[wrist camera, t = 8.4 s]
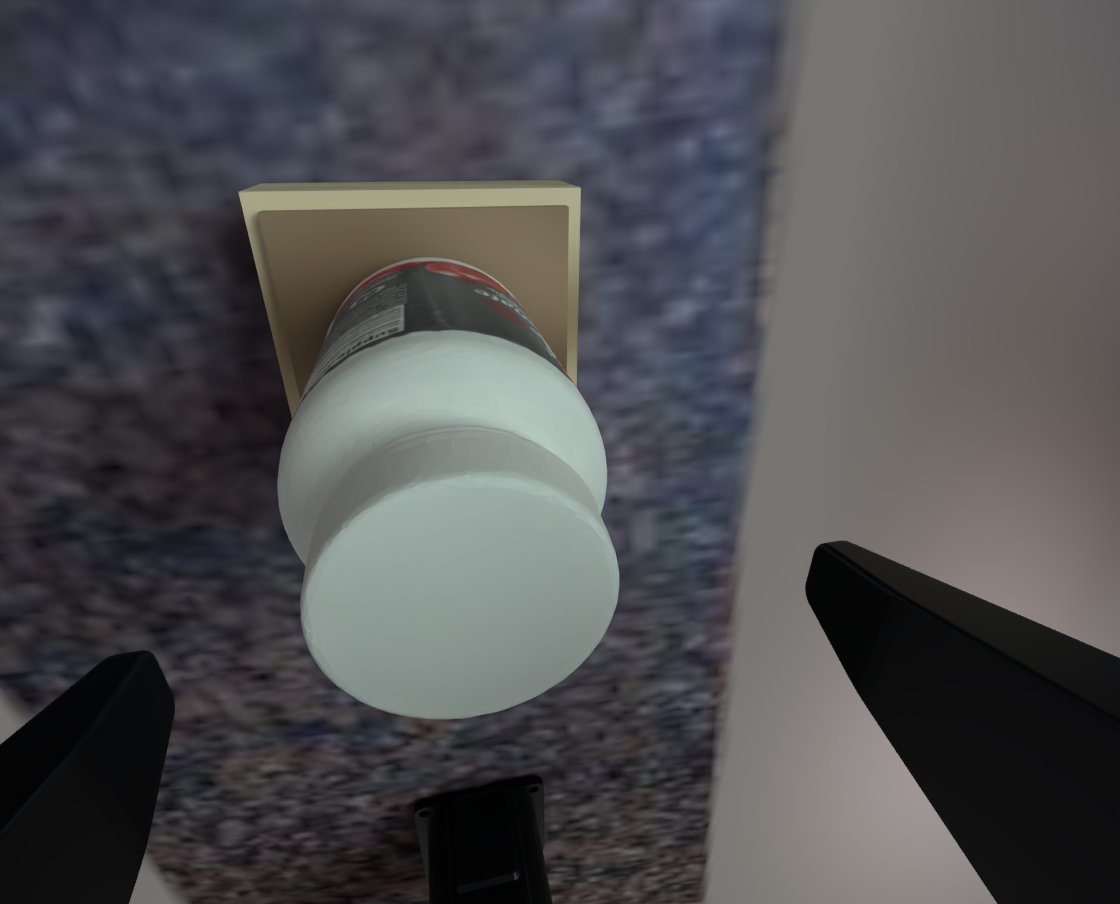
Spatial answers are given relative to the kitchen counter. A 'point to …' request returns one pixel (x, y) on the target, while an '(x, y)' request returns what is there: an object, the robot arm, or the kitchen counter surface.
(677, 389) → the kitchen counter surface
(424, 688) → the pill bottle
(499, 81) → the kitchen counter surface
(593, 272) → the kitchen counter surface
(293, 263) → the plinth
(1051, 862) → the robot arm
